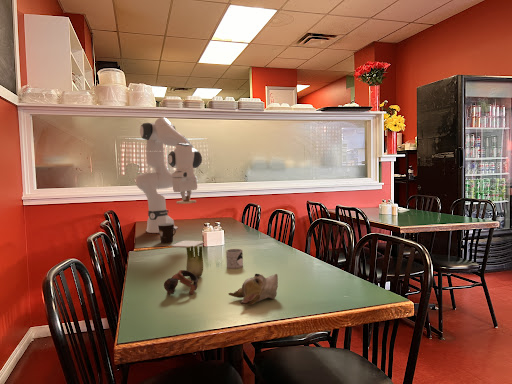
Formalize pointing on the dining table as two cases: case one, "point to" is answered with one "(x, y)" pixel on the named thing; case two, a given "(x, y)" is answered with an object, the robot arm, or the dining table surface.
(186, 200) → the wooden lid
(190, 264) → the fennel bulb
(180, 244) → the grey mat
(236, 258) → the mug
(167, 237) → the coffee mug
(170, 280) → the brown black curved piece
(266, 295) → the ceramic sculpture
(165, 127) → the robot arm
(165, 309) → the dining table surface
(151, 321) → the dining table surface
